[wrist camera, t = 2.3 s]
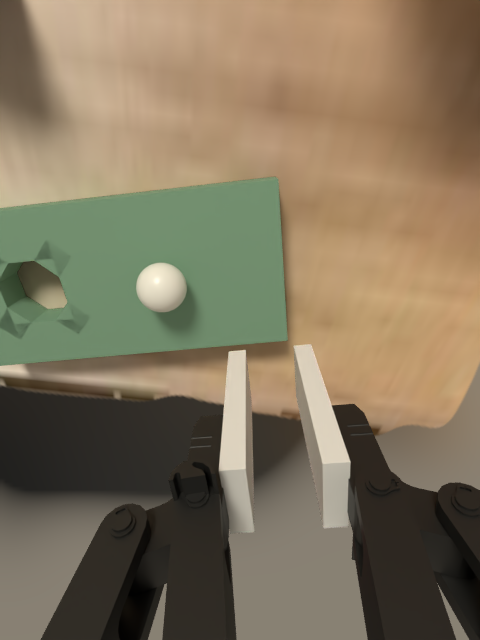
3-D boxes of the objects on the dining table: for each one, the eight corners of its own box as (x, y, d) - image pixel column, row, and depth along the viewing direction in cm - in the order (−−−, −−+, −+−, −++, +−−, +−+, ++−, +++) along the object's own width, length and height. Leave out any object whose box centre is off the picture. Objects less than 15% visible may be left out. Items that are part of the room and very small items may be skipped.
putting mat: (16, 350, 37) (-1, 365, 35) (-43, 213, 31) (-70, 219, 29) (284, 326, 36) (287, 340, 33) (275, 176, 30) (278, 179, 27)
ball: (149, 303, 32) (136, 322, 28) (138, 259, 30) (123, 274, 26) (193, 298, 31) (186, 318, 28) (185, 254, 30) (177, 268, 26)
